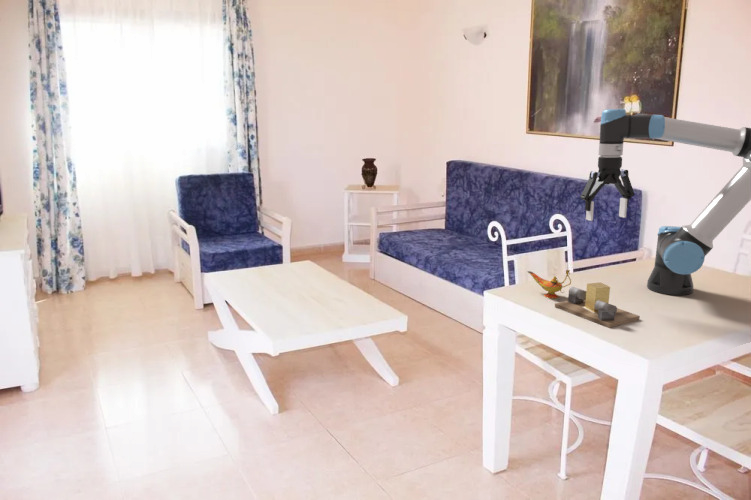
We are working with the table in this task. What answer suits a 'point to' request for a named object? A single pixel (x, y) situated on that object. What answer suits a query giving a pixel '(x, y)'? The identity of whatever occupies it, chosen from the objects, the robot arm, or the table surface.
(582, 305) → the shaft bench
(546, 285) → the magic lamp
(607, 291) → the block
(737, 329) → the table surface
